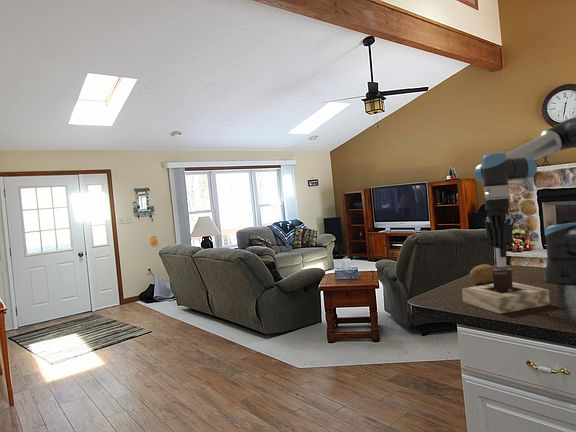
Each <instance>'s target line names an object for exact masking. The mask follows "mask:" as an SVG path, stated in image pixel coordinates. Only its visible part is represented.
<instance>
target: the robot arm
mask: <svg viewBox="0 0 576 432" xmlns="http://www.w3.org/2000/svg"><path fill="white" fill-rule="evenodd" d="M575 148H576V117H572V118H569V119H567V120H564V121H561V122H560V123H558V124H555V125H554V126H552V127H550V128H548V129H547V130H544V131H542V132H541V134H540V135H539V136H538V137H536V138H534V139H532V140H529V141H528V142H527V143H526V142H525V143H524V144H522V145H520V146H519V147H518V146H517V147H516V148H514V149H512V150H509V151H508V152H506V153H504V152H494V153H489V154H485V155H483V156H482V158H481V159H482V161H481V163H479V164H478V165H477V164H476V166H475V169H474V177H475V179H476V181H478V182H479V183H483V191H484V199H485V200H484V207H485V211H487V215H486V217H485V218H482V222H483V224H484V226H485V230H486V235H487V239H488V243H489V246H493V249H494V255H495V260H496V268H497V267H499V268H500V267H501V268H503V267H507V255H508V254H507V248H508V247H510V246H511V245H512V238H513V230H514V225H515V222H516V218H512V217H511V216H510V214H509V209H510V199H509V198H508V197H509V196H510V193H509V192H510V191H509V190H510V189H509V181H514V180H516V181H517V180H526V179H531V178H533V177H534V176H535V175H536V173H537V171H538V164H537V162H536V161H537V160H539V159H541V158H543V157H545V156H546V155H549V154H557V153H558V152H560V151H564V150H568V149H575ZM545 247H546V256H547V262H546V265H545V269H544V270H545V271H544V273H543V280H544V281H546V282H548V283H553V284H564V285H565V284H567V285H568V284H569V285H571V284H576V222H569V223H562V224H561V223H560V224H553V225H548V226H546V228H545Z"/></svg>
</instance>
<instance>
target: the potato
mask: <svg viewBox="0 0 576 432" xmlns="http://www.w3.org/2000/svg"><path fill="white" fill-rule="evenodd" d="M493 268H494V267H492V265H490V264H488V263H485V264H480V265H476V266H474V267H473V268H472V269H471V270H470V272H469V277H470V279H471V280H472V281H473V282H475V283H477V284H480V285H482V284H483V285H488V284H490V283H491V282H493Z"/></svg>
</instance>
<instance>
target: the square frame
mask: <svg viewBox="0 0 576 432" xmlns="http://www.w3.org/2000/svg"><path fill="white" fill-rule="evenodd" d="M512 286H513V291H512V292H506V293H500V292H496V291H494V284H493V283H488V284H483V285H482V284H480V285H478V286H477V285H476V286H471V287H469V286H468V287H464V288H462V289H461V292H462V293H461V294H462V303H464V304H467V305H470V306H472V307H473V306H474V307H477V308H480V309H482V310H487V311H489V312H492V313H496V314H507V313H511V312H517V311H521V310H526V309H532V308H533V309H534V308H538V307H544V306H550V305H551V304H550V301H551V300H550V290H549V289H548V288H542V287H539V286H538V287H537V286H533V285H527V284H523V283H518V282H513V281H512Z"/></svg>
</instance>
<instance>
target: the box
mask: <svg viewBox="0 0 576 432" xmlns="http://www.w3.org/2000/svg"><path fill="white" fill-rule="evenodd" d="M512 270H513V269H512V268H511V267H510V268H507V267H504V268H503V267H501V268H500V267H499V268H497V267H496V268H495V267H493V280H492V282H493V283H492V284H494V291H496V292H500V293H506V292H512V291H513V286H512V282H513V271H512Z"/></svg>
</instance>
